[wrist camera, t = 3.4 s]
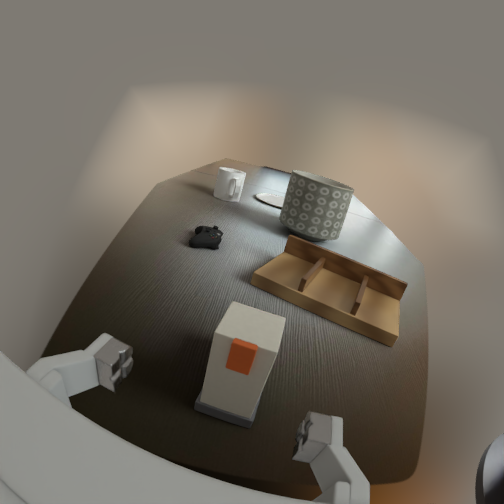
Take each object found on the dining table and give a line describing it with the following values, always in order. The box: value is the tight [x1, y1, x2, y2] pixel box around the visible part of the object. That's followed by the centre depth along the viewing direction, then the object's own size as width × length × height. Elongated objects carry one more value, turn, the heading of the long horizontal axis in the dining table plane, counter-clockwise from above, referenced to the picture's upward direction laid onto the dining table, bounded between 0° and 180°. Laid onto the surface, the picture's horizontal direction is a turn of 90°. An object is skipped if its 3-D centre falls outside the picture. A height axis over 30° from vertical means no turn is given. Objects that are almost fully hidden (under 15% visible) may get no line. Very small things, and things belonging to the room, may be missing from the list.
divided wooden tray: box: [250, 234, 408, 347], centre depth 55 cm, size 28×16×6 cm, turn 62°
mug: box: [213, 167, 246, 202], centre depth 107 cm, size 14×10×11 cm
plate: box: [256, 193, 285, 208], centre depth 123 cm, size 21×21×1 cm
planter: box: [279, 170, 354, 241], centre depth 86 cm, size 19×19×18 cm
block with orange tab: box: [194, 301, 286, 429], centre depth 29 cm, size 6×12×11 cm, turn 167°
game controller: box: [189, 226, 223, 249], centre depth 66 cm, size 10×5×6 cm
